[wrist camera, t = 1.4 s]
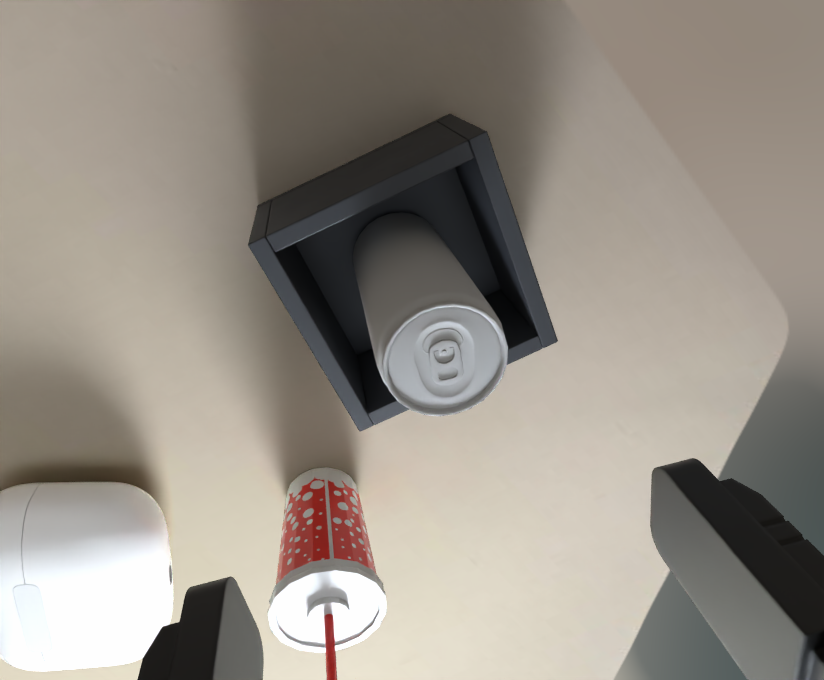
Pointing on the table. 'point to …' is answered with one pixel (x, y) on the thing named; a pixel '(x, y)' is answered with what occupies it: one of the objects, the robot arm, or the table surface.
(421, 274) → the beverage can
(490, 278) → the bin
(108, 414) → the table surface
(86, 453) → the table surface
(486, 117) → the table surface
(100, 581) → the earbud case
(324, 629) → the beverage cup
